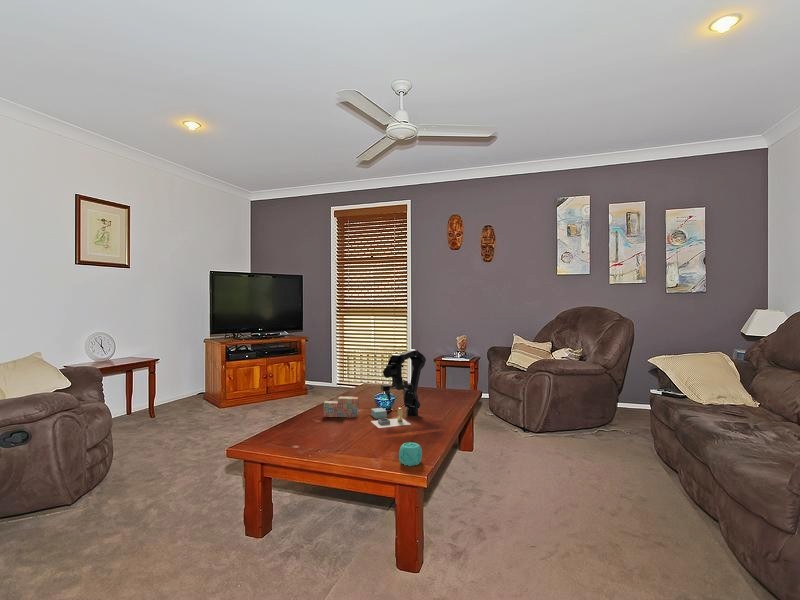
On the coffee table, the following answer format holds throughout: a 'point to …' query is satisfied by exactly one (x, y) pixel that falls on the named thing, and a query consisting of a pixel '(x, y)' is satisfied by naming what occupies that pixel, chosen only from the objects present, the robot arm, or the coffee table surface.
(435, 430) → the coffee table surface
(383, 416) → the block
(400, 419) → the pin
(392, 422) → the board
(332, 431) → the coffee table surface
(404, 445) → the decorative dice
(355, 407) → the stack of blocks
